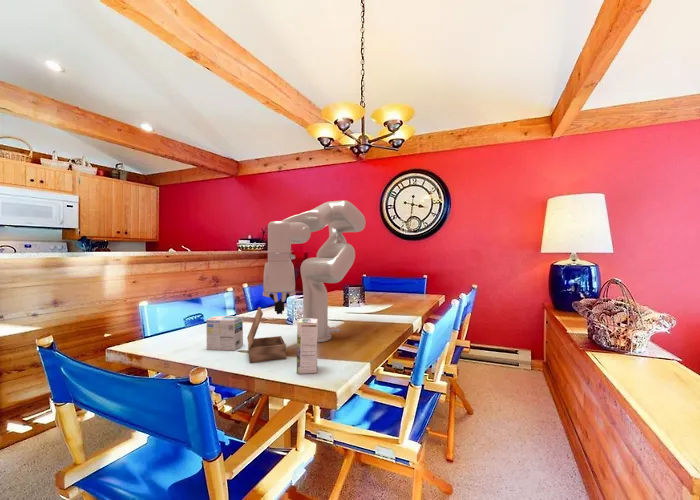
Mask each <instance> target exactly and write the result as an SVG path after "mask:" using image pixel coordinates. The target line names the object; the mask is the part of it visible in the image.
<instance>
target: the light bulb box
mask: <svg viewBox="0 0 700 500" xmlns="http://www.w3.org/2000/svg"><path fill="white" fill-rule="evenodd" d="M243 319H244V318H243V315H239V316H238V315H237V316H236V315H234V316H233V315H214V316H212V317H209V318H207V319H206V350H207V351H208V350H209V351H212V350H213V351H236V350H238V349H240V347H242V346H244V331H243V330H244V327H243V326H244V324H243V323H244V322H243V321H244V320H243Z"/></svg>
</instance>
